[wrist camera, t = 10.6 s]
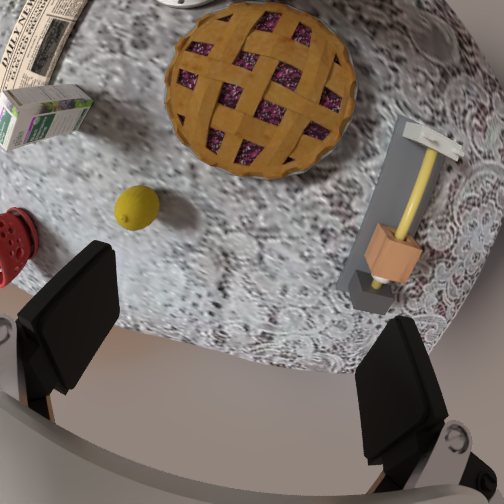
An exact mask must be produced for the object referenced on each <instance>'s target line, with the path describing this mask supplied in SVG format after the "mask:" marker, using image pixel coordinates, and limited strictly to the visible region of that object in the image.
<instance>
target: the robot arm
mask: <svg viewBox="0 0 504 504" xmlns="http://www.w3.org/2000/svg"><path fill="white" fill-rule="evenodd" d="M156 1H158V2H160V3H161V4H163V5H166V6H168V7H173V8H193V7H198V6H202V5H205V4H207V3H210V2H213V1H214V0H156ZM183 2H184V3H183ZM182 3H183V4H182ZM119 314H120V306H119V297H118V286H117V273H116V257H115V251H114V250H113V249H112V247H111V245H110V244H108V243H104V242H101V241H98V240H94V241H92V242H91V243H90V244H89V245H88V246H86V247H85V248H84V249H83V250H82V251H81V252H80V253H79V254H77V255H76V256H75V257H74V258H73V259H72V260H71V261H70V262H69V263H68V264H67V265H65V266H64V267H63V268H62V269H61V270H60V271H59V272H58V273H57V274H56V275H55V276H54V277H53V278H52V279H51V280H50V281H49V282H48V283H47V284H46V285H45V286H44V287H43V288H42V289H41V290H40V291H39V292H38V293H37V294H36V295H35V296H34V297H33V298H32V299H31V300H30V301H29V302H28V303H27V304H26V305H25V306H24V307H23V309H22V310H21V311H20V312H19V313H18V314H17V316H18V319H17V320H16V321H14V319H13V318H12V317H11V316H9V315H6V314H0V504H504V498H503V497H502V495H501V493H500V492H499V490H496V487H497V477H496V474H495V473H494V471H493V470H492V469H491V468H490V467H489V466H488V465H486V464H485V463H484V462H483V461H482V460H480V459H479V458H478V457H477V456H476V455H474V454H473V453H472V452H471V447H472V437H471V434H470V432H469V430H468V428H467V427H466V426H465V425H464V424H463V423H461V422H459V421H456V420H452V421H449V422H447V423H446V424H445V422H444V419H446V417H448V412H447V409H446V405H445V402H444V399H443V396H442V393H441V390H440V387H439V384H438V381H437V378H436V375H435V372H434V369H433V367H432V364H431V362H430V359H429V356H428V353H427V351H426V348H425V346H424V343H423V341H422V338H421V336H420V334H419V331H418V329H417V326H416V324H415V322H414V320H413V319H412V318H410V317H405V316H400V315H398V316H396V317H395V318H394V319H390V321H389V322H388V323H387V325H386V326H385V328H384V330H383V331H382V333H381V334H380V336H379V337H378V339H377V340H376V342H375V343H374V345H373V346H372V347H371V349H370V350H369V352H368V353H367V355H366V356H365V357H364V359H363V360H362V361H361V363H360V364H359V366H358V367H357V369H356V372H355V380H356V387H357V395H358V402H359V410H360V419H361V428H362V438H363V449H364V456H365V457H366V458H368V465H381V464H383V471H382V472H381V474H380V475H379V477H378V478H377V480H376V481H375V482H374V484H373V485H372V486H371V488H370V489H369V490H368V492H367V493H366V494H362V495H347V496H299V495H298V496H297V495H282V494H271V493H261V492H254V491H247V490H240V489H234V488H228V487H223V486H218V485H213V484H208V483H204V482H200V481H196V480H191V479H188V478H184V477H180V476H177V475H173V474H170V473H167V472H164V471H160V470H157V469H154V468H151V467H148V466H145V465H143V464H140V463H137V462H134V461H132V460H129V459H126V458H124V457H122V456H119V455H117V454H115V453H112V452H110V451H108V450H105V449H103V448H101V447H99V446H97V445H95V444H93V443H91V442H88V441H86V440H84V439H82V438H81V437H79V436H77V435H75V434H73V433H71V432H69V431H67V430H65V429H64V428H62V427H60V426H58V425H56V423H55V418H54V414H53V409H52V404H51V398H50V393H51V392H52V390H53V389H55V390H57V391H59V392H60V393H62V394H64V395H66V394H67V392H68V390H69V389H73V388H74V387H75V386H76V384H77V383H78V381H79V379H80V378H81V376H82V374H83V373H84V371H85V369H86V367H87V366H88V364H89V363H90V361H91V360H92V358H93V356H94V355H95V353H96V351H97V350H98V348H99V347H100V345H101V344H102V342H103V341H104V339H105V337H106V336H107V334H108V333H109V331H110V330H111V328H112V327H113V325H114V324H115V322H116V321H117V319H118V317H119Z"/></svg>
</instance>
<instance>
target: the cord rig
mask: <svg viewBox="0 0 504 504" xmlns="http://www.w3.org/2000/svg"><path fill="white" fill-rule="evenodd" d="M461 149H462V146H461V145H459V144H458V143H456V142H454V141H452V140H450V139H449V138H447V137H445V136H443V135H441V134H439V133H438V132H436V131H434V130H432V129H430V128H428V127H426V126H424V125H421V124H419V123H417V122H415V121H413V120H411V119H409V118H406V117H404V116H402V115H398V118H397V121H396V125H395V128H394V132H393V135H392V139H391V142H390V145H389V148H388V151H387V155H386V158H385V161H384V164H383V167H382V170H381V173H380V176H379V179H378V182H377V184H376V187H375V190H374V193H373V196H372V198H371V201H370V204H369V207H368V209H367V212H366V214H365V217H364V220H363V222H362V225H361V227H360V230H359V232H358V235H357V237H356V240H355V242H354V245H353V247H352V249H351V252H350V254H349V257H348V259H347V261H346V264H345V266H344V268H343V270H342V273H341V275H340V277H339V280H338V282H337V284H336V286H335V287H336V289H337V290H341V291H345V292H349V293H350V297H351V301H352V305H353V309H356V310H361V311H366V312H371V313H375V314H380V315H385V314H386V312H387V311H388V309H389V307H390V306H391V304H392V302H393V300H394V296H393V294H392V292H391V290H390V287H389V286H390V284H391V282H392V280H388V279H384V278H380V277H376V276H373V275H372V273H371V270H370V268H369V265H368V263H367V261H366V258H365V256H364V254H365V252H366V250H367V248H368V245H369V243H370V241H371V238H372V236H373V234H374V231H375V229H376V226H377V224H378V223H381V224H384V225H387V226H390V227H393V228H396V229H397V231H396V233H395V235H394V238H396V239H399V240H402V241H404V239H405V237H406V235H407V232H408V233H409V234H410V235H411V236H412V238H414V236H415V233H416V231H417V229H418V227H419V224H420V222H421V220H422V217H423V215H424V213H425V210H426V208H427V205H428V203H429V200H430V198H431V195H432V192H433V190H434V187H435V184H436V182H437V179H438V176H439V173H440V170H441V168H442V165H443V162H444V159H445V156H446V157H448V158H451V159H453V160H455V161H458V158H459V156H462V157H463V156H464V153H463V152H462V151H461Z"/></svg>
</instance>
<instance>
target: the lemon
mask: <svg viewBox="0 0 504 504" xmlns="http://www.w3.org/2000/svg"><path fill="white" fill-rule="evenodd" d="M159 208H160V202H159V198H158V196H157V194H156V193H155V191H154V190H152V189H151V188H150V187H147V186H143V185H138V186H133V187H131V188H129V189H127V190H126V191H124V192H123V193H122V194H121V196H120V197H119V198H118V200H117V202H116V204H115V218H116V220H117V222H118V223H119V224H120V225H121V226H122V227H123V228H125V229H127V230H131V231H136V230H140V229H143V228H145V227H147V226H148V225H150V224H151V223H152V222H153V221H154V220H155V218H156V217H157V214H158V212H159Z"/></svg>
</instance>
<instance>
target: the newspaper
mask: <svg viewBox="0 0 504 504" xmlns="http://www.w3.org/2000/svg"><path fill="white" fill-rule="evenodd" d="M87 2H88V0H28V1H27V2H26V4H25V6H24V8H23V10H22V12H21V14H20V17H19V19H18V21H17V23H16V25H15V27H14V30H13V32H12V35H11V37H10V39H9V42H8V44H7V47H6V50H5V52H4V55H3V58H2V61H1V64H0V97H1V92H2V91H4V90H10V89H18V88H26V87H35V86H45V85H48V83H49V80H50V78H51V75H52V73H53V70H54V68H55V65H56V63H57V60H58V58H59V56H60V53H61V51H62V49H63V47H64V45H65V42H66V40H67V38H68V36H69V34H70V32H71V30H72V28H73V26H74V25H75V23H76V21H77V19H78V17H79V15H80V14H81V12H82V10H83V8H84V7H85V5H86V3H87Z"/></svg>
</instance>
